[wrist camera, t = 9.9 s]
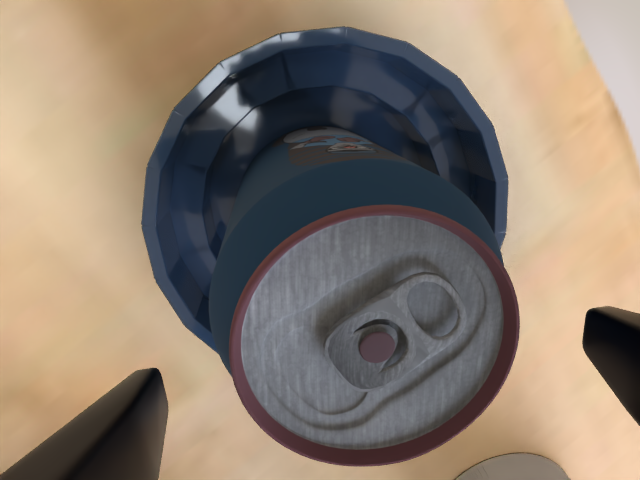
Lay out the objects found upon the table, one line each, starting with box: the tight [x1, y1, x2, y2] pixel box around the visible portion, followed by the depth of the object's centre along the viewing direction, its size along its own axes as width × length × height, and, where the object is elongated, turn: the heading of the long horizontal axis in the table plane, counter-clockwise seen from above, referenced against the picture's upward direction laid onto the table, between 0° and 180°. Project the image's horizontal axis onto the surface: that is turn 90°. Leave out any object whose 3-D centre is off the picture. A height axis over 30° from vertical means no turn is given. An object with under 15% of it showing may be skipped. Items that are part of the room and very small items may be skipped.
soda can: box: [209, 126, 520, 466], centre depth 14 cm, size 7×7×12 cm
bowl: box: [141, 26, 508, 354], centre depth 18 cm, size 13×13×5 cm
